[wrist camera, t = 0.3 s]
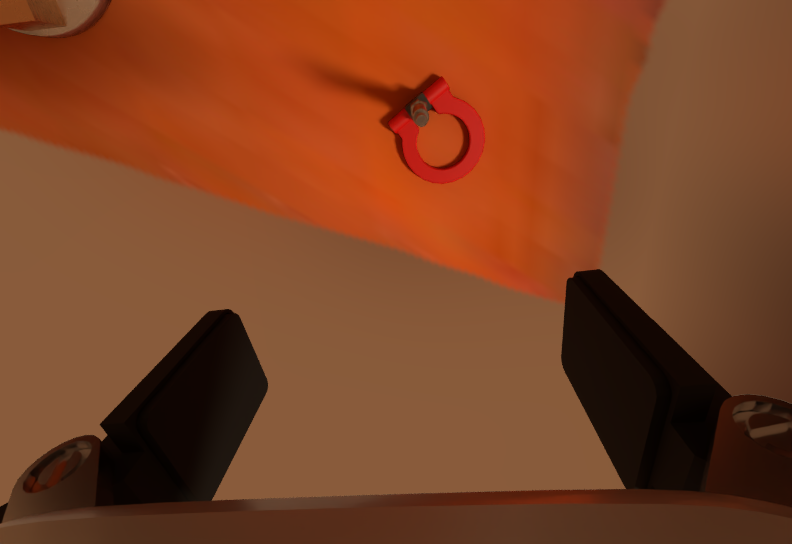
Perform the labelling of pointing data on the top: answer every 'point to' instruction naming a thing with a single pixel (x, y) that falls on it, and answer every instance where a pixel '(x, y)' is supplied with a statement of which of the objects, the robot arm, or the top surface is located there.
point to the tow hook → (419, 116)
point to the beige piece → (51, 16)
